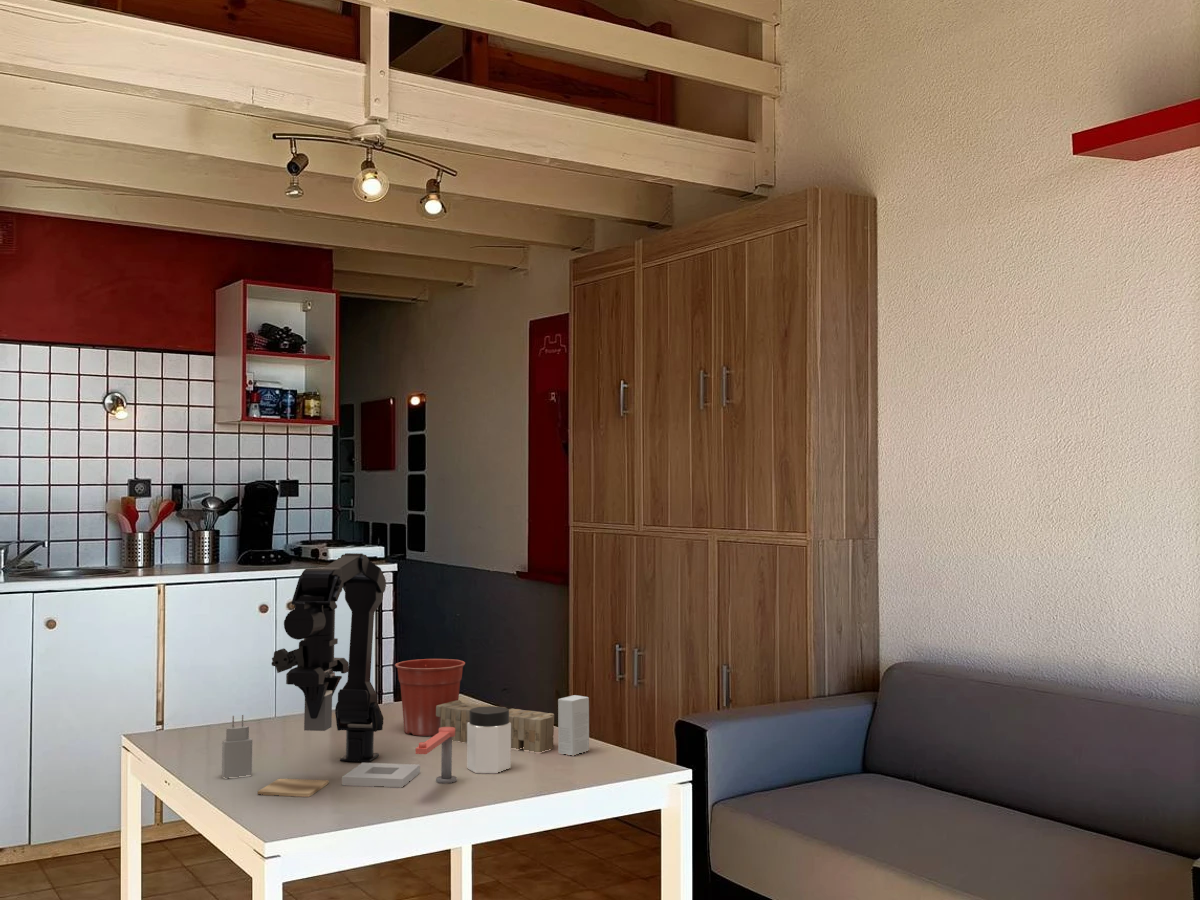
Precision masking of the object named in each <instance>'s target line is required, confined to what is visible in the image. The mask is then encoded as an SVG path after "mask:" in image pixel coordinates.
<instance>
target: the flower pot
mask: <svg viewBox="0 0 1200 900" xmlns="http://www.w3.org/2000/svg"><path fill="white" fill-rule="evenodd" d="M465 665H466V662H465V661H463V660H460V659H452V658H450V659H449V658H424V659H419V658H418V659H410V660H403V661H400V662H396V663H395V668H397V676H398V682H399V685H400V694H401V695H400V696H401V707H402V717H403V718H402V719H403V720H402V721H403V729H404V733H405V734H408V735H410V734H412V735H413V736H420V737H421V736H422V737H425V736H426V737H433V736H434V735H436V734H437V733H439V728H441V717H437V716H436V706H437V705H441V704H444V703H448V702H452V701H456V700H459V699H460V698H459V697H460V686H461V681H462V680H463V678H462V677H463V672H464V671H463V670H464V669H463V668H464V666H465Z"/></svg>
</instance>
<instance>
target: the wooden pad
mask: <svg viewBox="0 0 1200 900" xmlns="http://www.w3.org/2000/svg"><path fill="white" fill-rule="evenodd" d="M327 785H329V780H327V779H326V780H325V779H304V778H298V779H297V778H278V779H276V780H274V781H272V782H271V783H270V784H268V785H266V786H264V787H262V788H261V789H259V790H258V791H257V794H261V795H260V796H274V795H279V797H303V798H304V797H305V798H306V797H307V798H310V797H311V796H313V795H314V794H315V793H317V792H319V791H320V790H321V789H323V788H324V787H326V786H327ZM257 794H256V795H257ZM262 794H263V795H262Z"/></svg>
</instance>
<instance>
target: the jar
mask: <svg viewBox="0 0 1200 900" xmlns="http://www.w3.org/2000/svg"><path fill="white" fill-rule="evenodd" d="M492 706H493V705H491V706H489V707H477V708H473V709H471V710H470V711H469V722H468V723H467V743H466V769H467V768H468V770H469V771H471V772H472V773H474V774H499V773H498V772H500V773H502V772H501V771H503V770H506V769H508V768H510V769H511V767H512V766H511V765H512V764H511V763H512V752H511V751H512V750H511V723H510V722H509V709H510V708H508V707H505V706H498V707H492ZM504 707H505V708H504ZM506 771H507V770H506ZM503 772H504V771H503Z"/></svg>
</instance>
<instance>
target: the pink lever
mask: <svg viewBox="0 0 1200 900" xmlns="http://www.w3.org/2000/svg"><path fill="white" fill-rule="evenodd" d="M453 736H455V728H454V727H441V728H439V733H437V734H436V735H434V736H430V738H428V739H427V740H426V741H421V742H418V746H417V747H415V755H427V754H428V753H430V752H432V751H433V750H435V749H436V748H437V747H438V746H440V745H442V743H443V742H444V741H445V740H447V739H448V738H449V737H453Z"/></svg>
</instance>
